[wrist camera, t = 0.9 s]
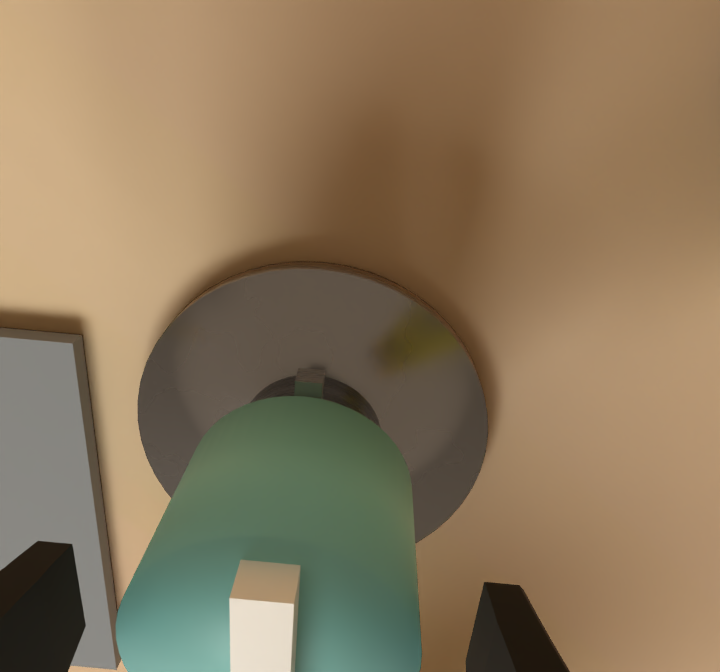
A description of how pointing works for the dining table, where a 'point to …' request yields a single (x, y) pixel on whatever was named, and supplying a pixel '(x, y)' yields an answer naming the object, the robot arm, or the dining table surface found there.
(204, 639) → the cap
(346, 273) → the metal flanged disc
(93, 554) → the mat
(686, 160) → the dining table surface
